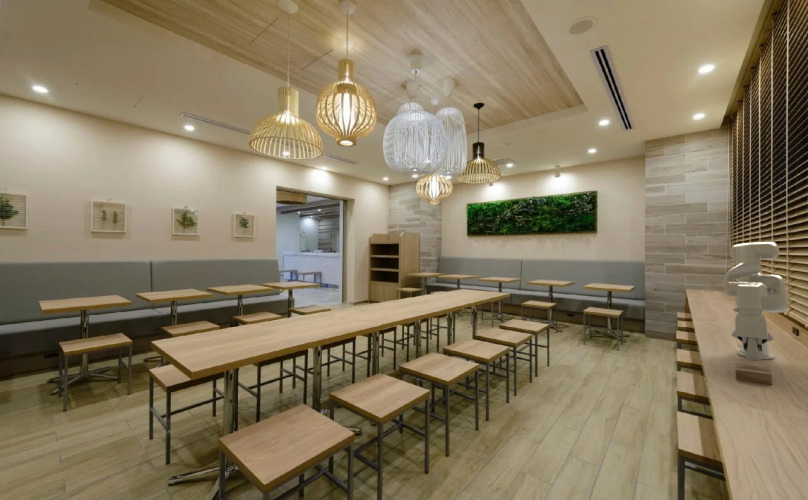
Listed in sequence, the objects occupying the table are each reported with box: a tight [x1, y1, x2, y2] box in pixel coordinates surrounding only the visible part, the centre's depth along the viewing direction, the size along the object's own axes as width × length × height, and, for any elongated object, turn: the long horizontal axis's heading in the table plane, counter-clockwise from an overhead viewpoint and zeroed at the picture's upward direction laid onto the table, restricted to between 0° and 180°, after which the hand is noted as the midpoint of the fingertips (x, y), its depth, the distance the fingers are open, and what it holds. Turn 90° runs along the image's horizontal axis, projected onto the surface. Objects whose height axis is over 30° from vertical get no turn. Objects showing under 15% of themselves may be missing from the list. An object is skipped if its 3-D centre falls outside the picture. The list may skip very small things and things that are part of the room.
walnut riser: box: [735, 363, 773, 386], centre depth 138 cm, size 10×10×4 cm
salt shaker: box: [744, 337, 763, 361], centre depth 150 cm, size 6×6×13 cm
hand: (753, 351), depth 150 cm, fingers closed on salt shaker, 3 cm apart
